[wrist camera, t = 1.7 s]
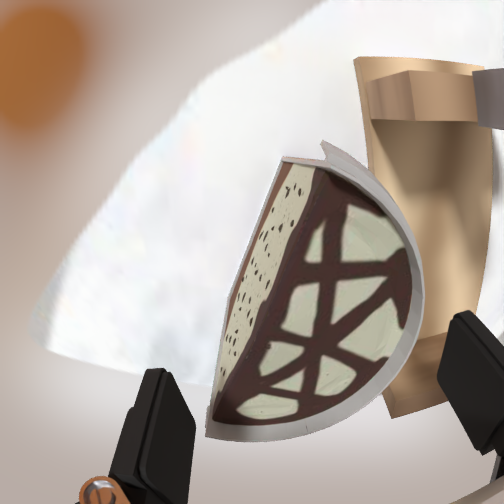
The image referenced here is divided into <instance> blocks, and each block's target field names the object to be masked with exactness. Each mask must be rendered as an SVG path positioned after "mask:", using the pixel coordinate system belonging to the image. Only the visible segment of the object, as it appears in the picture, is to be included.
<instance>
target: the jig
mask: <svg viewBox="0 0 504 504" xmlns="http://www.w3.org/2000/svg"><path fill="white" fill-rule="evenodd" d="M354 66H355V71H356V77H357V82H358V88H359V94H360V101H361V107H362V115H363V122H364V130H365V138H366V147H367V157H368V167H369V171H371V172H372V174H373V175H374V176H375V177H376V178H377V179H378V180H379V182H380V183H381V184H382V185H383V186H384V187H385V189H386V190H387V191H388V192H389V193H390V195H391V196H392V198H393V199H394V201H395V202H396V204H397V205H398V207H399V208H400V210H401V212H402V213H403V215H404V217H405V219H406V221H407V223H408V225H409V226H410V228H411V230H412V232H413V234H414V236H415V239H416V243H417V246H418V249H419V253H420V256H421V260H422V267H423V276H424V287H425V304H424V314H423V321H422V324H421V328H420V331H419V335H418V338H417V341H416V343H415V345H414V347H413V349H412V352H411V354H410V356H409V358H408V360H407V361H406V363H405V364H404V366H403V367H402V369H401V370H400V372H399V373H398V374H397V376H396V377H395V378H394V380H393V381H392V382H391V383H390V384H389V385H388V386H387V387H386V388H385V389H384V390H383V392H382V395H383V397H384V400H385V403H386V405H387V408H388V410H389V413H390V416H391V419H393V418H397V417H400V416H404V415H407V414H410V413H413V412H417V411H420V410H423V409H426V408H429V407H432V406H435V405H438V404H441V403H444V402H446V401H448V399H447V397H446V395H445V394H444V392H443V390H442V389H441V387H440V385H439V384H438V381H437V371H438V368H439V364H440V361H441V357H442V353H443V349H444V345H445V341H446V336H447V332H448V327H449V323H450V320H452V319H453V316H454V315H455V314H457V313H460V312H463V311H466V310H470V311H472V312H473V313H474V314H476V310H477V306H478V301H479V296H480V291H481V286H482V281H483V275H484V269H485V263H486V256H487V249H488V241H489V232H490V221H491V207H492V186H493V151H492V129H491V128H487V127H480V126H478V122H474V121H409V120H388V119H371V115H370V108H369V101H368V94H367V88H366V82H368V81H372V80H375V79H378V78H382V77H385V76H389V75H392V74H396V73H400V72H403V71H407V70H416V71H432V72H444V73H454V74H462V75H470V76H472V71H479V70H484V67H483V66H477V65H471V64H464V63H457V62H450V61H441V60H431V59H419V58H403V57H357V58H356V59H354Z"/></svg>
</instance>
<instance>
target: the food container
mask: <svg viewBox="0 0 504 504" xmlns="http://www.w3.org/2000/svg"><path fill="white" fill-rule="evenodd" d="M321 147H322V149H323V151H324V153H325V155H326V158H325V161H323V160H314V159H304V158H293V157H282V159H281V161H280V164H279V166H278V169H277V172H276V174H275V177H274V179H273V182H272V184H271V187H270V190H269V192H268V195H267V197H266V200H265V202H264V205H263V208H262V210H261V213H260V215H259V218H258V220H257V223H256V226H255V228H254V231H253V233H252V236H251V239H250V241H249V244H248V246H247V249H246V252H245V254H244V257H243V259H242V262H241V265H240V267H239V270H238V272H237V275H236V278H235V280H234V283H233V285H232V288H231V291H230V293H229V296H228V300H227V306H226V311H225V317H224V323H223V329H222V335H221V340H220V346H219V352H218V358H217V364H216V370H215V376H214V382H213V388H212V394H211V400H210V406H208V407H207V412H206V424H205V428H206V433H205V437H209V438H214V439H219V440H226V441H236V442H269V441H277V440H285V439H290V438H294V437H299V436H303V435H307V434H311V433H313V432H316V431H319V430H322V429H325V428H327V427H330V426H332V425H334V424H336V423H338V422H340V421H342V420H344V419H346V418H348V417H349V416H351V415H352V414H354V413H356V412H357V411H359V410H360V409H362V408H363V407H365V406H366V405H367V404H369V403H370V402H371V401H372V400H373V399H375V398H376V397H377V396H378V395H379V394H381V393H382V392H383V390H384V389H385V388H386V387H387V386H388V385H389V384H390V383H391V382H392V381H393V380H394V378H395V377H396V376H397V374H398V373H399V372H400V370H401V369H402V367H403V366H404V364H405V363H406V361H407V360H408V358H409V356H410V354H411V352H412V349H413V347H414V345H415V343H416V341H417V338H418V335H419V331H420V328H421V324H422V321H423V314H424V304H425V287H424V276H423V267H422V260H421V256H420V253H419V249H418V246H417V243H416V239H415V236H414V234H413V232H412V230H411V228H410V226H409V225H408V223H407V221H406V219H405V217H404V215H403V213H402V212H401V210H400V208H399V207H398V205H397V204H396V202H395V201H394V199H393V198H392V196H391V195H390V193H389V192H388V191H387V190H386V189H385V187H384V186H383V185H382V184H381V183H380V182H379V180H378V179H377V178H376V177H375V176H374V175H373V174H372V172H371V171H369V170H368V169H367V168H366V167H364V166H363V165H362V164H361V163H359V162H358V161H357V160H356V159H354V158H353V157H352V156H350V155H349V154H348V153H346V152H344V151H343V150H341V149H339V148H337V147H335V146H333V145H331V144H330V143H328V142H326V141H324V140H322V142H321Z"/></svg>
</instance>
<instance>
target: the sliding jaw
mask: <svg viewBox="0 0 504 504" xmlns="http://www.w3.org/2000/svg"><path fill="white" fill-rule="evenodd" d="M366 88H367V94H368V101H369V108H370V115H371V119H388V120H409V121H474V122H478V126H480V127H487V128H494V129H500V130H504V68H501V69H489V70H479V71H472V76H470V75H462V74H454V73H444V72H432V71H416V70H407V71H403V72H400V73H396V74H392V75H389V76H385V77H382V78H378V79H375V80H372V81H368V82H366Z"/></svg>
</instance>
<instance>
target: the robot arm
mask: <svg viewBox="0 0 504 504" xmlns="http://www.w3.org/2000/svg"><path fill="white" fill-rule="evenodd" d="M437 381H438V384H439V385H440V387H441V389H442V390H443V392H444V394H445V395H446V397H447V399H448V401H449V402H450V404H451V406H452V408H453V409H454V411H455V413H456V415H457V416H458V418H459V420H460V422H461V424H462V425H463V427H464V429H465V431H466V433H467V435H468V437H469V439H470V440H471V442H472V444H473V446H474V448H475V449H476V450H479V451H480V453H481V454H482V456H483V455H485V454H487V453H488V452H490V451H492V450H494V449H495V451H496V453H497V457H496V461H495V465H494V469H493V473H492V476H491V480H490V483H489V484H488V485H486V486H484V487H482V488H481V489H479V490H477V491H475V492H473V493H471V494H469V495H467V496H465V497H463V498H461V499H459V500H457V501H455V502H453V503H451V504H504V346H503V345H502V344H501V343H500V342H499V340H498V339H497V338H496V337H495V336H494V335H493V334H492V333H491V332H490V330H489V329H488V328H487V327H486V326H485V325H484V324H483V323H482V322H481V321H480V320H479V319H478V317H477V316H476V315H475V314H474V313H473V312H472V311H470V310H466V311H463V312H460V313H457V314H455V315H454V316H453V319H452V320H450V323H449V327H448V332H447V336H446V341H445V345H444V349H443V353H442V357H441V361H440V364H439V368H438V371H437ZM195 433H196V424H195V420H194V418H193V416H192V414H191V412H190V410H189V408H188V406H187V404H186V402H185V400H184V398H183V396H182V394H181V392H180V390H179V388H178V386H177V383H176V381H175V379H174V377H173V375H172V373H171V372H167V371H166V369H164V368H155V369H147V370H146V371H145V374H144V377H143V380H142V383H141V386H140V389H139V392H138V395H137V398H136V401H135V404H134V407H131V408H130V409H129V411H128V413H127V416H126V419H125V422H124V425H123V428H122V431H121V435H120V438H119V441H118V444H117V448H116V451H115V454H114V458H113V461H112V464H111V468H110V471H109V475H108V477H106V476H97V477H94V478H91V479H89V480H88V481H86V482H85V483H84V485H83V486H82V487H81V490H80V492H79V502H77V503H75V504H187V503H188V493H189V484H190V476H191V467H192V457H193V450H194V441H195Z"/></svg>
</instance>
